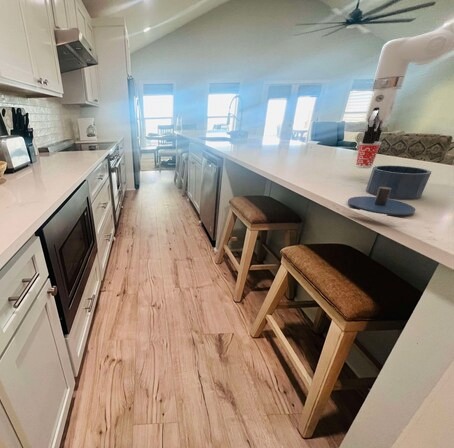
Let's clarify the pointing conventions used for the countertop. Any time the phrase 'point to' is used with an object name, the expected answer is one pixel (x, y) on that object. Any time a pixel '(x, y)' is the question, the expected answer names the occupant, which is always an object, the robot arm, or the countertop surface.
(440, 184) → the countertop surface
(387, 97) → the robot arm
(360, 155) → the beverage cup
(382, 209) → the pot lid
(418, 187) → the pot
